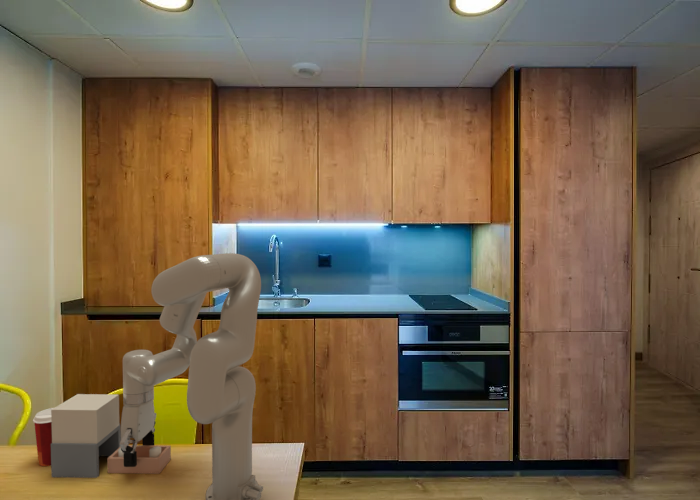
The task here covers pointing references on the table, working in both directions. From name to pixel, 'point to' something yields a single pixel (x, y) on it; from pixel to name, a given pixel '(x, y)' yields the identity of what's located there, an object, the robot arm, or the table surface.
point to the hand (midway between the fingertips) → (139, 456)
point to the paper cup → (43, 436)
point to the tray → (141, 459)
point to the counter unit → (84, 434)
